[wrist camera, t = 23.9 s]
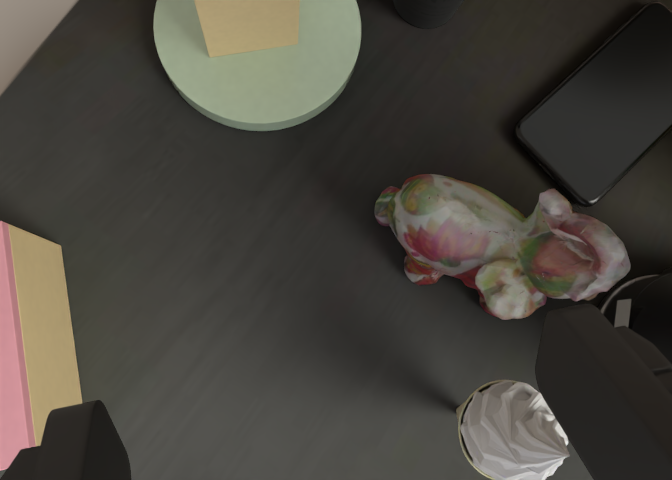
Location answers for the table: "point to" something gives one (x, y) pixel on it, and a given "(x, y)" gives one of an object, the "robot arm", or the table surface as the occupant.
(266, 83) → the plate
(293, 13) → the cake slice
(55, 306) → the cake
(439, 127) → the table surface
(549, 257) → the figurine
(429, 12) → the drinking cup
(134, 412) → the table surface
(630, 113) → the smartphone
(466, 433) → the ice cream cone
